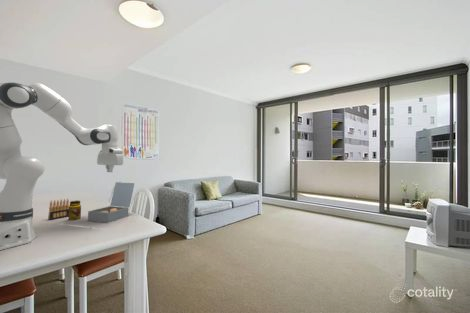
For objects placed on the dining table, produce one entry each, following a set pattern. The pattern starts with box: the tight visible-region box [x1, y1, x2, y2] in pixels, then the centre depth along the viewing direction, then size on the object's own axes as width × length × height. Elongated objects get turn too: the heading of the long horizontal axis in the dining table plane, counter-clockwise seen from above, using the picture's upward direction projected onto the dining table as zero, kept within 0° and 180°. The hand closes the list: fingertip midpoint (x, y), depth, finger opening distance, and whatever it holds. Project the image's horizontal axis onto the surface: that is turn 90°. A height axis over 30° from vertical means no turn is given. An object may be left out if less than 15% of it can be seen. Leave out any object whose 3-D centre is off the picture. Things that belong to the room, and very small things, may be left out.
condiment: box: [67, 200, 82, 221], centre depth 133 cm, size 7×8×12 cm
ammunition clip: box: [47, 198, 70, 221], centre depth 137 cm, size 11×2×12 cm, turn 151°
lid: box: [109, 181, 135, 208], centre depth 147 cm, size 16×15×2 cm
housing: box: [87, 205, 129, 224], centre depth 136 cm, size 16×15×6 cm
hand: (109, 172), depth 136 cm, fingers closed
